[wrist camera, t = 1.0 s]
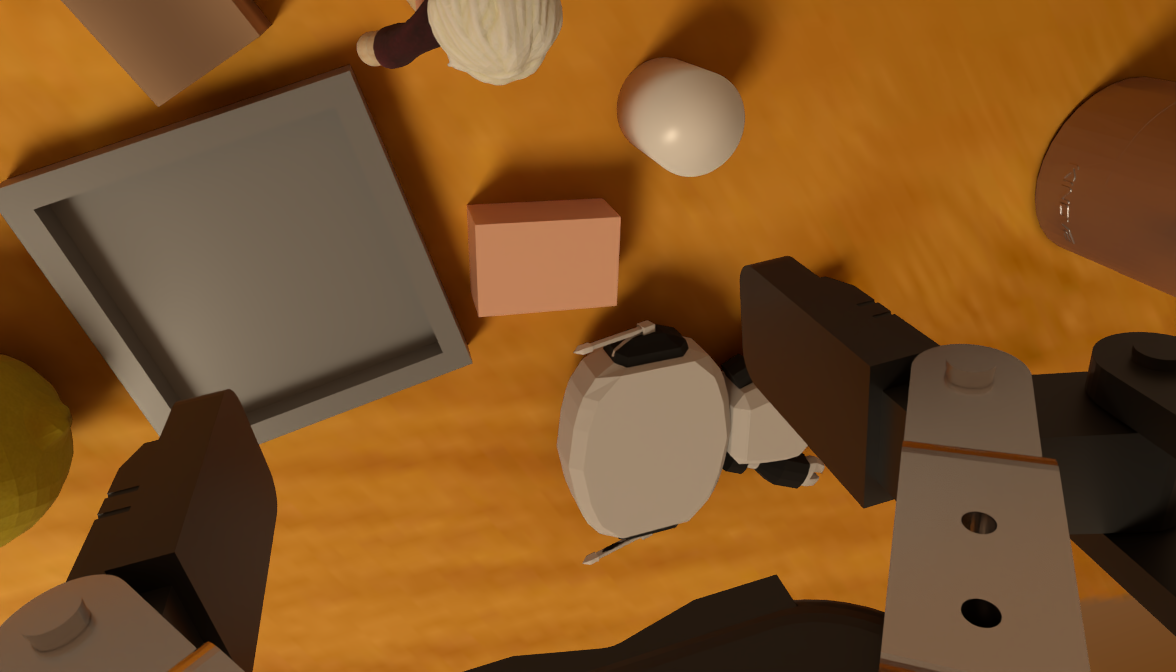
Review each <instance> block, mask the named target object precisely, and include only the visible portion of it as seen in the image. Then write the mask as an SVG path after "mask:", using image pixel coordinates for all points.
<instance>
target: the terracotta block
mask: <svg viewBox="0 0 1176 672" xmlns="http://www.w3.org/2000/svg"><path fill="white" fill-rule="evenodd" d="M467 220H468V243H469V266H470V289H471V294H472V297H473V301H474V304H475V307H476V310H477V313H478V316H479V317H487V316H499V315H511V314H523V313H535V312H547V311H559V310H571V309H583V308H595V307H607V306H617V288H618V267H619V246H620V225H621V217H620V216H619V215H618V214H617V212H616V211H615V210H614V209H613V208H612V207H611V206H610V205H609V204H608V203H607V202H606V201H605V200H604V199H603V198H595V199H575V200H555V201H534V202H514V203H494V204H474V205H467Z"/></svg>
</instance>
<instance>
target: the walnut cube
mask: <svg viewBox="0 0 1176 672" xmlns="http://www.w3.org/2000/svg"><path fill="white" fill-rule="evenodd" d="M61 1H62V2H63V3H64V4H65V5H66V6H67V7H68V8H69V10H70V11H71V12H72V13H73V14H74V15H75V16H76V17H77V18H78V19H79V21H80V22H81V23H82V24H83V25H84V26H85V27H86V28H87V29H88V30H89V32H90V33H91V34H92V35H93V36H94V37H95V38H96V39H97V40H98V41H99V42H100V44H101V45H102V46H103V47H104V48H105V49H106V50H107V51H108V52H109V53H110V55H111V56H112V57H113V58H114V59H115V60H116V61H117V62H118V63H119V64H120V66H121V67H122V68H123V69H124V70H125V71H126V72H127V73H128V74H129V75H130V77H131V78H132V79H133V80H134V81H135V82H136V83H137V84H138V85H139V86H140V88H141V89H142V90H143V91H144V92H145V93H146V94H147V95H148V96H149V97H150V99H151V100H152V101H153V102H154V103H155V104H156V105H157V106H158V107H159V106H161V105H162V104H164V103H165V102H167V101H168V100H169V99H171V98H172V97H174V96H175V95H177V94H178V93H179V92H181V91H182V90H184V89H185V88H187V87H188V86H189V85H191V84H192V83H194V82H195V81H197V80H198V79H199V78H201V77H202V76H204V75H205V74H206V73H208V72H209V71H211V70H212V69H214V68H215V67H216V66H218V65H219V64H221V63H222V62H224V61H225V60H226V59H228V58H229V57H231V56H232V55H234V54H235V53H236V52H238V51H239V50H241V49H242V48H244V47H245V46H246V45H248V44H249V43H251V42H252V41H254V40H255V39H256V38H258V37H259V36H260V35H262V34H263V33H264V32H265V31H266V30H267V29H268V28H269V27H270V26H271V25H272V24H271V23H270V22H269V20H268V19H267V18H266V16H265V15H264V14H263V13H262V11H261V10H260V9H259V7H258V6H257V5H256V4H255V2H254V1H253V0H61Z"/></svg>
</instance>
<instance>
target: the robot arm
mask: <svg viewBox="0 0 1176 672" xmlns="http://www.w3.org/2000/svg"><path fill="white" fill-rule="evenodd" d="M1035 203H1036V214H1037V217H1038V220H1039V224H1040V227H1041V229H1042V230H1043V231H1044V233H1045V234H1046V236H1047V237H1048V239H1050V240H1051V241H1052V242H1054V243H1055V244H1056V245H1058V246H1060V247H1062V248H1064V249H1066V250H1069V251H1071V252H1073V253H1076V254H1078V255H1080V256H1083V257H1085V258H1087V259H1090V260H1092V261H1094V262H1097V263H1099V264H1101V265H1103V266H1106V267H1108V268H1110V269H1113V270H1115V271H1117V272H1119V273H1121V274H1123V275H1126V276H1128V277H1130V278H1133V279H1135V280H1137V281H1139V282H1142V283H1144V284H1146V285H1149V286H1151V287H1153V288H1156V289H1158V290H1160V291H1163V292H1165V293H1167V294H1169V295H1172V296H1174V297H1176V82H1174V81H1168V80H1162V79H1155V78H1149V77H1136V78H1128V79H1125V80H1122V81H1120V82H1117V83H1114V84H1111V85H1110V86H1108V87H1106V88H1105V89H1103V90H1101V91H1100V92H1098V93H1096V94H1094V95H1093V96H1092V97H1091V98H1090V99H1088V100H1087V101H1086V102H1085V103H1084V104H1082V105H1081V106H1080V107H1079V108H1078V109H1077V110H1076V111H1075V112H1074V113H1073V115H1072V116H1071V117H1070V118H1069V119H1068V120H1067V121H1066V122H1065V124H1064V125H1063V126H1062V128H1061V129H1060V131H1059V132H1058V134H1057V135H1056V137H1055V138H1054V140H1053V141H1052V143H1051V145H1050V147H1049V149H1048V152H1047V154H1046V156H1045V158H1044V160H1043V163H1042V166H1041V169H1040V173H1039V176H1038V179H1037V186H1036V194H1035ZM740 299H741V321H742V343H743V355H744V360H745V364H746V368H747V371H748V373H749V376H750V378H751V380H752V382H753V383H754V385H755V386H756V387H757V388H758V390H759V391H760V392H761V393H762V394H763V395H764V396H765V398H766V399H767V400H768V401H769V402H770V403H771V404H772V405H773V407H774V408H775V409H776V410H777V411H778V412H779V413H780V414H781V416H782V417H783V418H784V419H785V420H786V421H787V422H788V424H789V425H790V426H791V427H792V428H793V429H794V430H795V431H796V433H797V434H798V435H799V436H800V437H801V438H802V439H803V441H804V442H805V443H806V444H807V445H808V446H809V447H810V448H811V450H812V451H813V452H814V453H815V454H816V455H817V456H818V458H819V459H820V460H821V461H822V462H823V463H824V464H825V465H826V467H827V468H828V469H829V470H830V471H831V472H832V473H833V474H834V476H835V477H836V478H837V479H838V480H839V481H840V482H841V484H842V485H843V486H844V487H845V488H846V489H847V490H848V491H849V493H850V494H851V495H852V496H853V497H854V498H855V499H856V501H857V502H858V503H859V504H860V505H861V506H862V507H863V508H867V507H870V506H873V505H877V504H880V503H883V502H887V501H890V500H893V499H895V500H896V511H895V520H894V530H893V540H892V549H891V559H890V569H889V578H888V588H887V598H886V608H885V612H882V611H879V610H876V609H873V608H869V607H865V606H860V605H856V604H851V603H846V602H838V601H830V600H793V599H792V598H791V596H790V595H789V593H788V591H787V590H786V588H785V587H784V585H783V584H782V582H781V581H780V579H779V578H778V576H777V575H773V576H770V577H767V578H764V579H760V580H757V581H754V582H751V583H747V584H744V585H741V586H738V587H735V588H731V589H728V590H725V591H722V592H718V593H715V594H712V595H709V596H706V597H702V598H699V599H696V600H693V601H692V602H690V603H688V604H686V605H685V606H683V607H681V608H680V609H678V610H676V611H674V612H673V613H671V614H669V615H668V616H666V617H664V618H662V619H661V620H659V621H657V622H655V623H654V624H652V625H650V626H649V627H647V628H645V629H643V630H642V631H640V632H638V633H637V634H635V635H633V636H631V637H630V638H628V639H626V640H625V641H623V642H621V643H619V644H617V645H615V646H612V647H608V648H602V649H591V650H579V651H568V652H556V653H545V654H533V655H522V656H512V657H509V658H506V659H503V660H499V661H496V662H493V663H490V664H487V665H483V666H480V667H477V668H474V669H470V670H467V671H464V672H1090V666H1089V660H1088V653H1087V647H1086V641H1085V634H1084V627H1083V621H1082V614H1081V608H1080V601H1079V595H1078V588H1077V582H1076V575H1075V569H1074V562H1073V556H1072V549H1071V543H1070V539H1071V540H1072V541H1073V542H1074V543H1075V544H1077V545H1078V546H1079V547H1080V548H1081V549H1082V550H1083V551H1084V552H1085V553H1086V554H1087V555H1088V556H1089V557H1091V558H1092V559H1093V560H1094V561H1095V562H1096V563H1097V564H1098V565H1099V566H1100V567H1101V568H1102V569H1104V570H1105V571H1106V572H1107V573H1108V574H1109V575H1110V576H1111V577H1112V578H1113V579H1114V580H1115V581H1116V582H1118V583H1119V584H1120V585H1121V586H1122V587H1123V588H1124V589H1125V590H1126V591H1127V592H1128V593H1129V594H1131V595H1132V596H1133V597H1134V598H1135V599H1136V600H1137V601H1138V602H1139V603H1140V604H1141V605H1142V606H1143V607H1145V608H1146V609H1147V610H1148V611H1149V612H1150V613H1151V614H1152V615H1153V616H1154V617H1155V618H1157V619H1158V620H1159V621H1160V622H1161V623H1162V624H1163V625H1164V626H1165V627H1166V628H1167V629H1168V630H1169V631H1170V632H1172V633H1173V634H1174V635H1175V636H1176V336H1171V335H1166V334H1159V333H1148V332H1129V333H1120V334H1115V335H1111V336H1108V337H1105V338H1103V339H1101V340H1100V341H1098V342H1097V343H1096V344H1095V346H1094V347H1093V351H1092V356H1091V360H1090V365H1089V370H1088V372H1072V373H1056V374H1040V375H1031V372H1030V370H1029V369H1028V368H1027V366H1026V365H1025V364H1024V363H1023V362H1021V361H1020V360H1019V359H1017V358H1016V357H1014V356H1012V355H1010V354H1008V353H1005V352H1003V351H1000V350H997V349H993V348H990V347H985V346H980V345H971V344H950V345H943V346H940V345H938V344H937V343H936V342H934V341H933V340H931V339H930V338H928V337H927V336H926V335H924V334H923V333H921V332H920V331H918V330H917V329H915V328H914V327H913V326H911V325H910V324H908V323H907V322H905V321H904V320H903V319H901V318H900V317H898V316H897V315H895V314H893V315H891V311H890V310H888V309H887V308H885V307H884V306H883V305H881V304H880V303H875V302H874V299H873V298H871V297H870V296H868V295H867V294H865V293H864V292H862V291H861V290H860V289H858V288H857V287H855V286H854V285H850V284H847V283H844V282H841V281H838V280H835V279H832V278H829V277H826V276H825V277H821V278H820V277H818V276H817V275H815V274H814V273H813V272H811V271H810V270H809V269H807V268H806V267H805V266H803V265H802V264H800V263H799V262H798V261H796V260H795V259H794V258H792V257H790V256H784V257H780V258H776V259H772V260H768V261H763V262H759V263H755V264H751V265H747V266H744V267H743V269H742V271H741V274H740ZM107 494H108V498H106V499H105V500H104V502H103V504H102V506H101V508H100V510H99V512H98V514H97V515H98V519H97V520H95V521H94V523H93V525H92V527H91V529H90V532H89V534H88V536H87V538H86V540H85V542H84V544H83V546H82V549H81V551H80V553H79V555H78V557H77V559H76V561H75V564H74V566H73V568H72V570H71V572H70V574H69V576H68V578H67V581H66V583H63V584H60V585H58V586H56V587H54V588H52V589H50V590H48V591H46V592H44V593H43V594H41V595H39V596H37V597H36V598H34V599H33V600H31V601H30V602H28V603H27V604H25V605H24V606H23V607H21V608H20V609H19V610H18V611H16V612H15V613H14V614H13V615H12V616H11V617H9V618H8V619H7V620H6V621H5V622H4V623H3V624H2V625H1V627H0V672H252V671H253V665H254V658H255V652H256V645H257V639H258V632H259V626H260V620H261V613H262V607H263V600H264V594H265V587H266V581H267V574H268V568H269V561H270V555H271V548H272V542H273V535H274V529H275V522H276V516H277V497H276V491H275V486H274V482H273V478H272V475H271V472H270V470H269V467H268V465H267V463H266V460H265V458H264V456H263V453H262V451H261V449H260V446H259V444H258V442H257V439H256V437H255V435H254V432H253V430H252V428H251V425H250V423H249V421H248V418H247V416H246V414H245V411H244V409H243V407H242V404H241V402H240V400H239V398H238V397H237V395H236V394H235V393H234V391H232V390H231V389H226V390H222V391H218V392H214V393H210V394H205V395H201V396H197V397H193V398H189V399H185V400H180V401H177V402H175V403H174V405H173V407H172V409H171V411H170V414H169V416H168V419H167V421H166V423H165V426H164V428H163V431H162V433H161V435H160V438H159V440H156V441H152V442H148V443H144V444H143V445H142V446H141V447H140V448H139V449H138V450H137V451H136V452H135V453H134V454H133V455H132V456H131V457H130V458H129V459H128V460H127V461H126V462H125V463H124V464H123V465H122V466H121V467H120V468H119V470H118V472H117V474H116V476H115V478H114V480H113V482H112V485H111V487H110V489H109V491H108V493H107Z"/></svg>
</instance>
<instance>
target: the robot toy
mask: <svg viewBox="0 0 1176 672" xmlns="http://www.w3.org/2000/svg"><path fill="white" fill-rule="evenodd" d="M594 349H595V350H594ZM593 350H594V351H593ZM590 352H591V353H590ZM574 353H577V354H582V355H584V354H587V353H590V354H589V355H587V356H586V357H585V358H583V359H582V360H581V362H580V364H579V365H578V367H577V368H576V370H575V371H574V373H573V374H572V376H571V378H570V380H569V383H568V385H567V388H566V391H565V395H564V399H563V403H562V407H561V414H560V423H559V431H558V439H557V448H558V452H559V456H560V460H561V464H562V468H563V472H564V476H565V479H566V482H567V484H568V487H569V489H570V491H571V493H572V495H573V497H574V499H575V501H576V503H577V505H578V507H579V509H580V511H581V513H582V515H583V516H584V518H585V520H586V521H587V523H588V524H589V525H590V526H592V527H593V528H594V529H595V530H596V531H597V532H599V533H600V534H604V535H609V536H614V537H618V538H619V539H622V540H620V541H618V542H616V543H614V544H612V545H610V546H608V547H606V548H604V549H602V550H600V551H598V552H596V553H595V552H593V553H591V554H589V555H587V556H586V558H585V559H584V561H583V563H582V564H590V565H591V564H593V563H595V562H597V561H599V559H600V558H602V557H604V556H606V555H608V554H610V553H612V552H613V551H615V550H617V549H619V548H621V547H623V546H625V545H627V544H629V543H631V542H633V541H635V540H637V539H639V538H642V539H643V540H644V539H646V538H648V537H649V536H651V535H652V534H653V533H657V532H660V531H664V530H668V529H671V528H675V527H676V526H677V525H678V524H679V523H683V522H687V521H689V520H690V519H691V518H692V517H693V516H694V515H695V514H696V512H697V511H698V510H699V509H700V508H701V507H702V506H703V505H704V504H705V502H706V501H707V500H708V499H709V497H710V495H711V494H712V492H713V490H714V488H715V486H716V484H717V482H718V479H719V476H720V473H721V471H722V469H724V470H725V471H728V472H733V473H739V474H742V473H743V472H744V471H745V470H746V469H747V467H748V468H753V469H755V470H756V471H757V472H758V473H759V474H760V475H761V476H762V477H763V478H764V479H766V480H767V481H769V482H770V483H772V484H774V485H780V486H786V487H791V488H798V487H800V486H801V485H802V486H811V485H814V484H815V483H816V482H817V481H818V479H819V476H817V475H816V473H814V472H821V473H822V472H823V470H824V464H823V462H822V461H821V460H820V459H819V458H817V457H815V456H810V455H809V456H806V457H805V455H804V454H803V453H802V452H803V450H804V449H805V448H806V447H807V446H808V445H807V444H806V443H805V442H804V441H803V439H802V438H801V437H800V436H799V435H798V434H797V433H796V431H795V430H794V429H793V428H792V427H791V426H790V425H789V424H788V422H787V421H786V420H785V419H784V418H783V417H782V416H781V414H780V413H779V412H778V411H777V410H776V409H775V408H774V407H773V405H772V404H771V403H770V402H769V401H768V400H767V399H766V398H765V396H764V395H763V394H762V393H761V392H760V391H759V390H758V388H757V387H756V386H755V385H754V383H753V382H752V380H751V378H750V376H749V373H748V371H747V368H746V364H745V360H744V356H742V355H739V354H737V355H736V356H734V357H733V358H731V359H730V360H728V361H726V362H725V363H723V364H722V365H721V366H722V369H723V371H722V372H721V370H720V368H719V367H718V366H717V364H716V363H715V362H714V361H713V359H712V358H711V357H710V356H709V355H708V354H707V353H706V352H705V351H704V350H703V349H702V348H701V347H700V346H699V345H698V344H697V343H696V342H695V341H694V340H693V339H692V338H688V337H684V336H682V335H681V334H680V333H679V332H678V331H677V330H676V329H675V328H674V327H667V326H661V325H655V324H654V323H652V322H650V321H648V320H647V321H644V322H641V323H638V324H637V327H636V328H633V329H629V330H626V331H624V332H621V333H618V334H615V335H613V336H610V337H607V338H604V339H601V340H598V341H595V342H592V343H585V344H582V345H579V346H578V347H577V348H576V350H575V351H574Z"/></svg>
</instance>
